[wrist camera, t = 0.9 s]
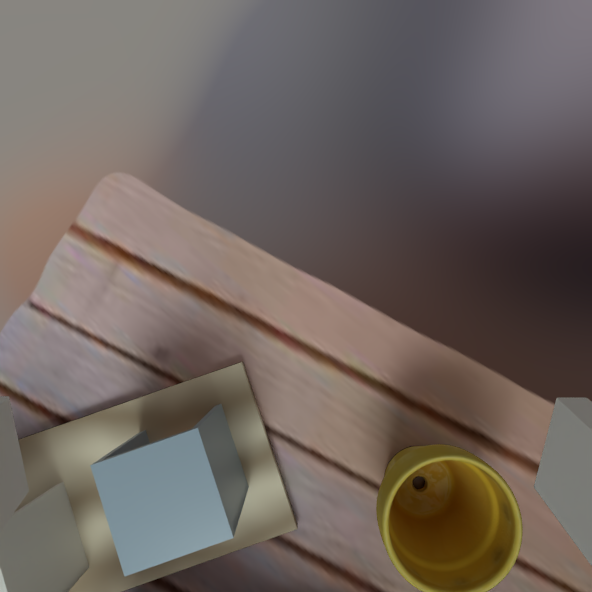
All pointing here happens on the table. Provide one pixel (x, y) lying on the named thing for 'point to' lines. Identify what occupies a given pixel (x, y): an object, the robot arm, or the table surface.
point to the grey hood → (42, 546)
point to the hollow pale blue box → (172, 492)
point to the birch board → (158, 424)
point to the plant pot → (448, 520)
